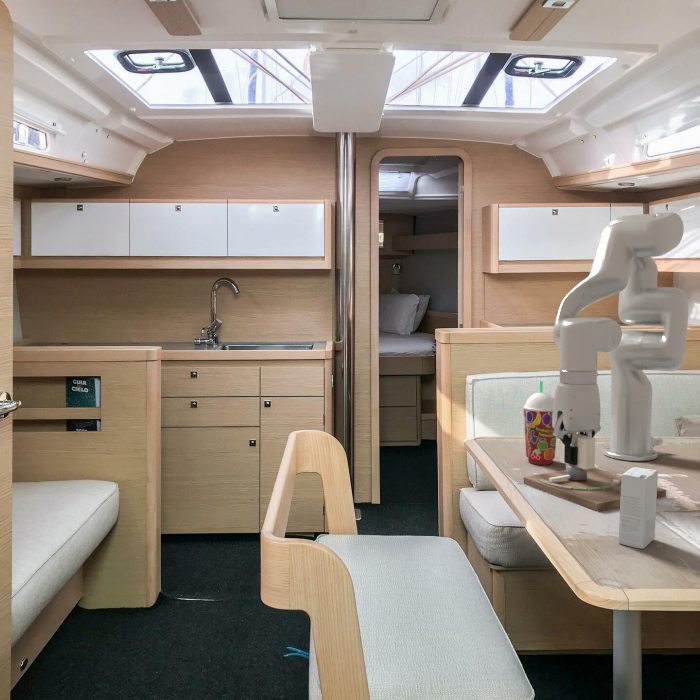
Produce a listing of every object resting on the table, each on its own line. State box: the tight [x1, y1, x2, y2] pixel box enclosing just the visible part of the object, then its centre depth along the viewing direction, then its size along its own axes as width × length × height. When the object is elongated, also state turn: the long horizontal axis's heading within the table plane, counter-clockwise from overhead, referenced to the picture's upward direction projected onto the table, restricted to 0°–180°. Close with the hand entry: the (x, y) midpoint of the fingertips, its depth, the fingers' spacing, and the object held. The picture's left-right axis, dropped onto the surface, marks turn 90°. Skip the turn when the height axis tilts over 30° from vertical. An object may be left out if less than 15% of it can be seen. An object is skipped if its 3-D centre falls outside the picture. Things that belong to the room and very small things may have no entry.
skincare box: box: [618, 466, 659, 550], centre depth 113 cm, size 6×4×12 cm
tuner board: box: [522, 467, 667, 512], centre depth 143 cm, size 19×21×2 cm
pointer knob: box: [549, 433, 596, 482], centre depth 144 cm, size 10×8×9 cm
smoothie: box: [523, 380, 557, 466], centre depth 165 cm, size 8×8×20 cm
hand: (576, 462), depth 145 cm, fingers closed on pointer knob, 2 cm apart
